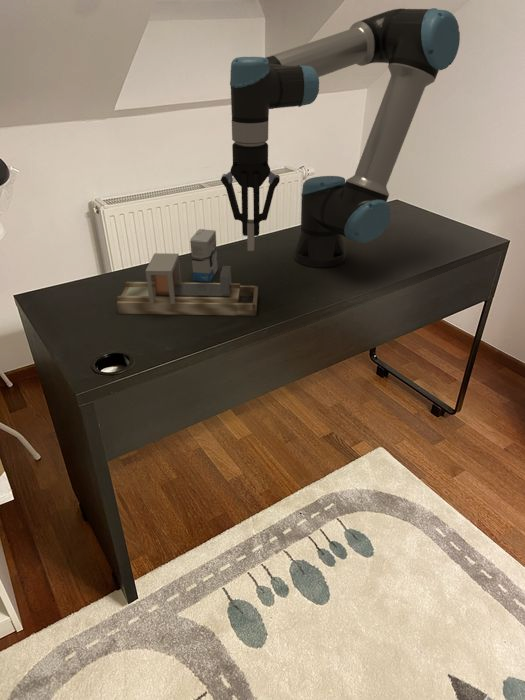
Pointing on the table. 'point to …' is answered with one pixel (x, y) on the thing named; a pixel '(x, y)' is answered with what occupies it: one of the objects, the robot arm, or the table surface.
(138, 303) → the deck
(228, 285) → the sled
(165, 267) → the tunnel
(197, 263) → the ink box
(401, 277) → the table surface
